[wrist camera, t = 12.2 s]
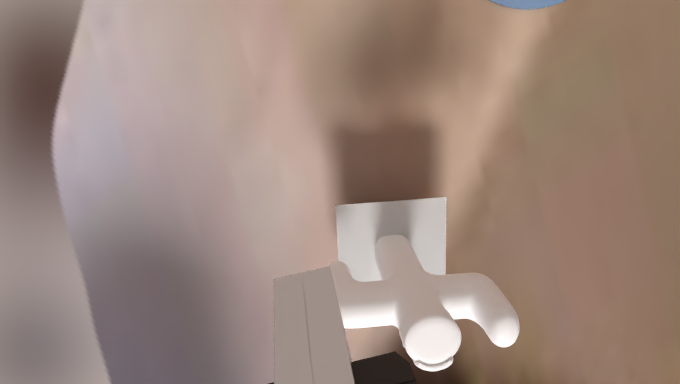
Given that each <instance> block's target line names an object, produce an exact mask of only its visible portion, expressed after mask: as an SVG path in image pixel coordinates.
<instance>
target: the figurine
mask: <svg viewBox="0 0 680 384" xmlns="http://www.w3.org/2000/svg"><path fill="white" fill-rule="evenodd" d="M336 223H337V243H338V261H335V262H332V263H331V264H330V265H329V266H330V269H331V273H332V277H333V282H334V286H335V290H336V294H337V299H338V303H339V307H340V312H341V316H342V320H343V325H344V328H350V329H353V328H365V327H376V326H387V325H394V326H396V327H397V328H398V329H399V334H400V338H401V340H402V342H403V347H405V349H406V351H407V353H408V355H409V356H410V357H411V358H412V360H413V362H414V364H415V365H416V366H417V367H419V368H420V369H422V370H426V371H439V370H442V369H445V368H447V367H449V366H450V365H451V364H452V363H453V355H454V354H455V353H456V352H457V350H458V348H459V346H460V343H461V332H460V329H459V327H458V325H457V324H456V322H455V321H454V319H463V318H466V319H470V320H473V321H475V322H476V323H478V324H479V325H480V326H481V327H482V328H483V329H484V330H485V332H486V333H487V335H488V337H489V338H490V340H491V341H492V342H493V343H494V344H495V345H497V346H499V347H508V346H510V345H512V344H513V343H514V342H515V341H516V339H517V337H518V334H519V319H518V316H517V313H516V312H515V310H514V308H513V307H512V305H511V304H510V303H509V301H508V300H507V299H506V297H505V296H504V295H503V293H502V292H501V291H500V289H499V288H498V287H497V286H496V284H495V283H494V282H493V281H492V280H491V279H490V278H488V277H487V276H485V275H483V274H480V273H461V274H449V275H446V197H439V198H426V199H413V200H400V201H386V202H373V203H360V204H347V205H336Z"/></svg>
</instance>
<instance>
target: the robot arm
mask: <svg viewBox="0 0 680 384" xmlns="http://www.w3.org/2000/svg"><path fill="white" fill-rule="evenodd" d="M269 384H417V383H416V380H415V377H414V375H413V372H412V369H411V366H410V364H409V363H408V362H407V361H406V360H405V359H403V358H402V357H401V356H400V355H398V354H397V353H396V352H392V353H388V354H383V355H379V356H375V357H371V358H367V359H362V360H358V361H354V362H352V359H351V355H350V350H349V346H348V342H347V337H346V333H345V329H344V325H343V320H342V316H341V312H340V307H339V303H338V299H337V294H336V290H335V286H334V282H333V277H332V273H331V269H330V266H328V267H324V268H320V269H316V270H311V271H307V272H303V273H298V274H294V275H290V276H286V277H281V278H277V279H274V382H273V383H269Z"/></svg>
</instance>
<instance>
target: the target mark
mask: <svg viewBox="0 0 680 384" xmlns="http://www.w3.org/2000/svg"><path fill="white" fill-rule="evenodd" d="M490 1H492V2H494V3H497V4H499V5H502V6H506V7H510V8H516V9H538V8H544V7H549V6H552V5H555V4H558V3H561V2H563V1H565V0H490Z"/></svg>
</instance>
